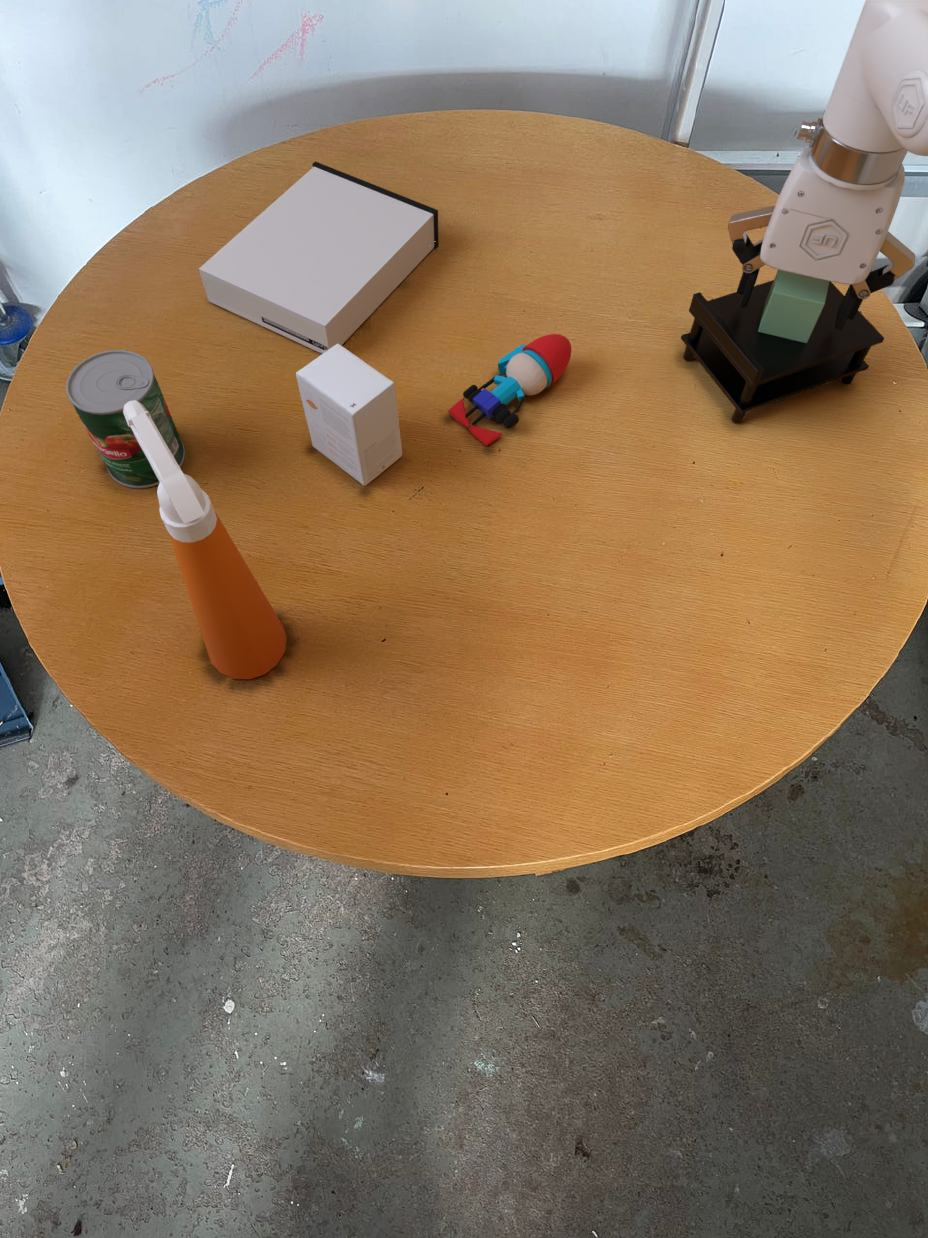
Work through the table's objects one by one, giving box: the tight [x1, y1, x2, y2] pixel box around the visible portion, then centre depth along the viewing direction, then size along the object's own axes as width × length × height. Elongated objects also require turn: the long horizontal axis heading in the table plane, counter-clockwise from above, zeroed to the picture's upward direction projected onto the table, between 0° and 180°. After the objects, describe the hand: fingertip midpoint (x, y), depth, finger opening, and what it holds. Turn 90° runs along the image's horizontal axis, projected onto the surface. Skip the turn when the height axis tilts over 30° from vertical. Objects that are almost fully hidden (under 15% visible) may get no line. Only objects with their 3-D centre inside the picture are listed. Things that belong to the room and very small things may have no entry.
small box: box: [295, 344, 403, 487], centre depth 85 cm, size 8×6×10 cm
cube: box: [758, 269, 829, 343], centre depth 88 cm, size 5×5×5 cm
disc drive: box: [198, 161, 440, 355], centre depth 101 cm, size 18×22×5 cm
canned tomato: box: [65, 349, 186, 489], centre depth 84 cm, size 8×8×11 cm
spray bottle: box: [123, 400, 288, 680], centre depth 68 cm, size 7×11×26 cm, turn 33°
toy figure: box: [448, 333, 573, 447], centre depth 92 cm, size 8×5×15 cm
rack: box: [680, 279, 885, 425], centre depth 92 cm, size 16×12×8 cm
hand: (791, 309), depth 88 cm, fingers open, 9 cm apart
